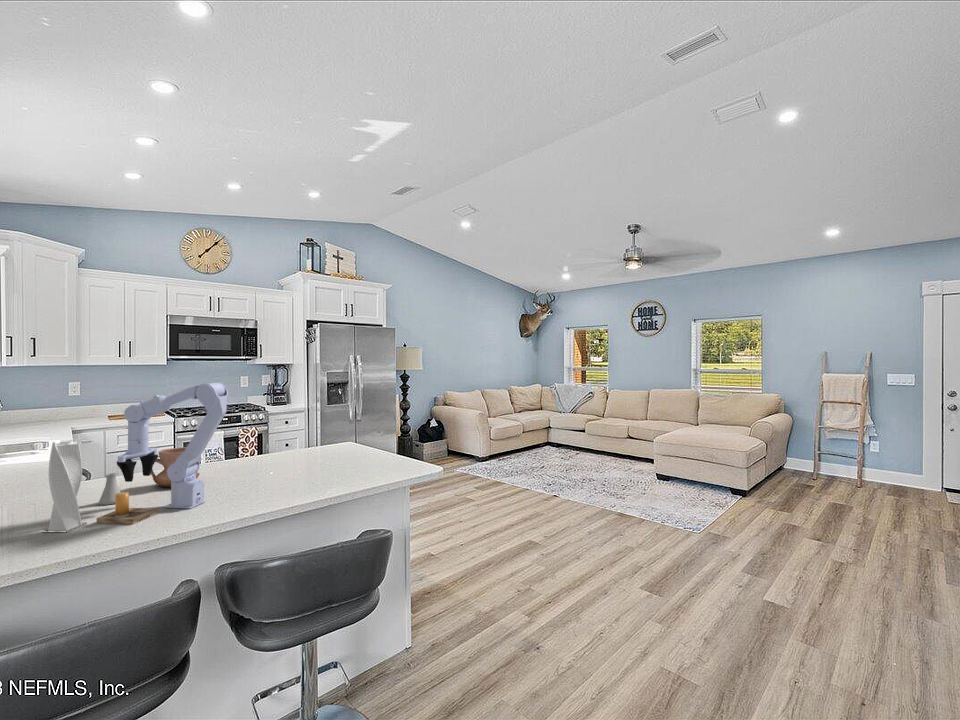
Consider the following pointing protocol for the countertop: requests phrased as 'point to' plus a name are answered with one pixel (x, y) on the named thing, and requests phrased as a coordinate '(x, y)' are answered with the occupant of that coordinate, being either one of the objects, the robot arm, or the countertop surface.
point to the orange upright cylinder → (122, 504)
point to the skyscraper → (65, 485)
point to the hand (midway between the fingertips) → (137, 478)
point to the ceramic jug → (167, 465)
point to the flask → (109, 490)
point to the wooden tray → (132, 518)
